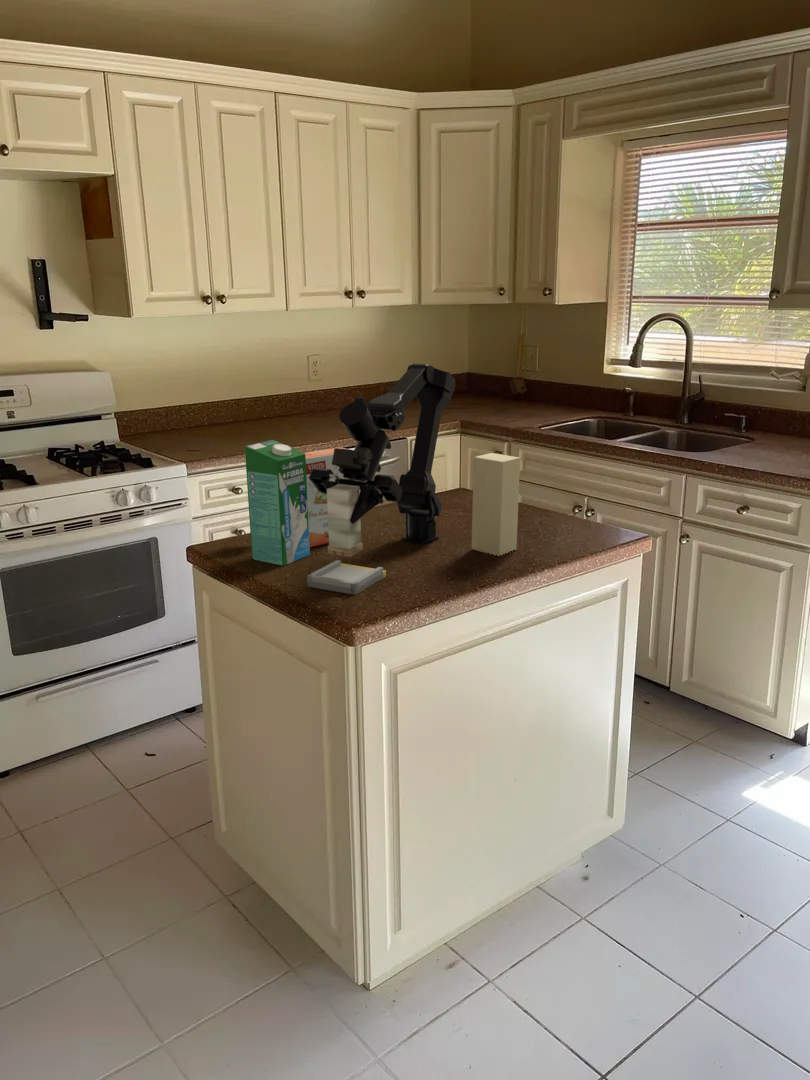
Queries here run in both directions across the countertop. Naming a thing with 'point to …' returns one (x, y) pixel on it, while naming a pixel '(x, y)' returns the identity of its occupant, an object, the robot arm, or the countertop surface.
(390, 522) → the countertop surface
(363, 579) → the pad
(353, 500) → the pale banded rectangular block
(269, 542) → the milk carton
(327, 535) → the cracker box
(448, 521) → the countertop surface
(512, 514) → the tall cream block
